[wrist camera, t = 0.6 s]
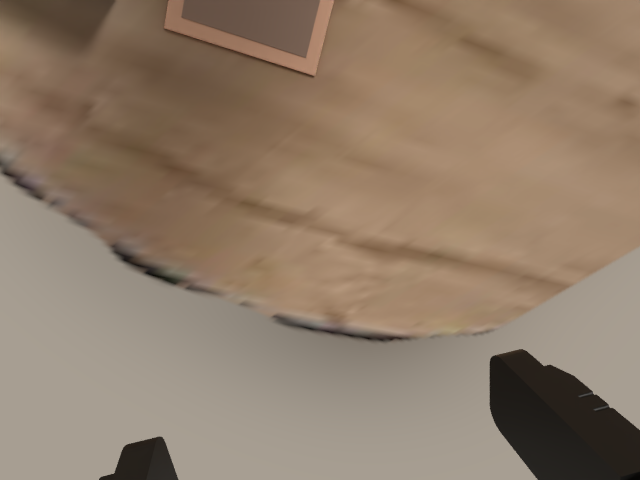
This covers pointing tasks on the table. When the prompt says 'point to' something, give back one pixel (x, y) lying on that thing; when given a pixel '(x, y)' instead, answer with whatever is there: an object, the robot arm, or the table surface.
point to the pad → (257, 27)
